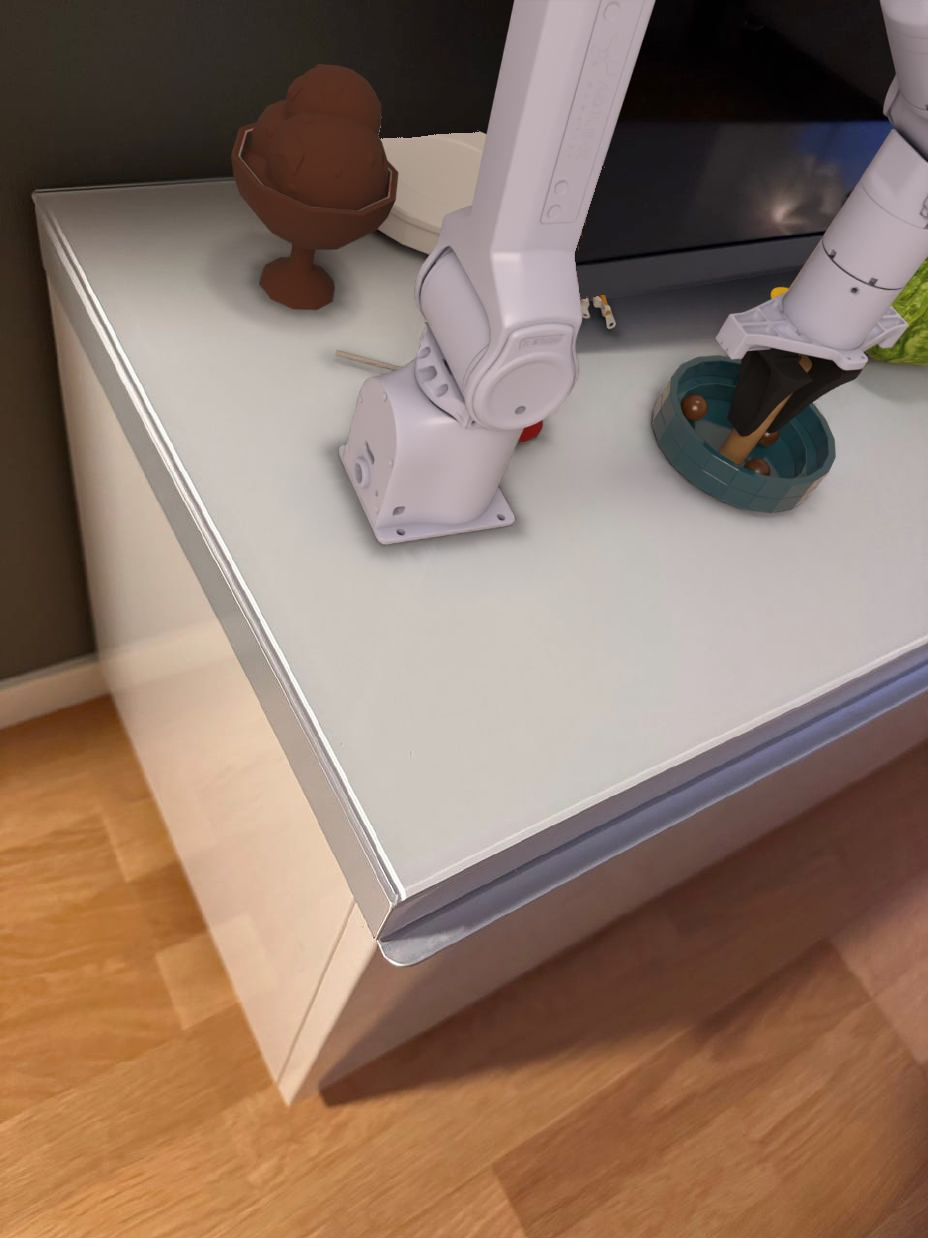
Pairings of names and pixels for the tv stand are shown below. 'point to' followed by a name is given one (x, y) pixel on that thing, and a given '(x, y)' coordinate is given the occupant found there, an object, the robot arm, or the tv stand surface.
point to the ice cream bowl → (315, 177)
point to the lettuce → (923, 309)
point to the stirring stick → (742, 446)
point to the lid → (430, 184)
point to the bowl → (697, 444)
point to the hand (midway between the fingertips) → (750, 424)
